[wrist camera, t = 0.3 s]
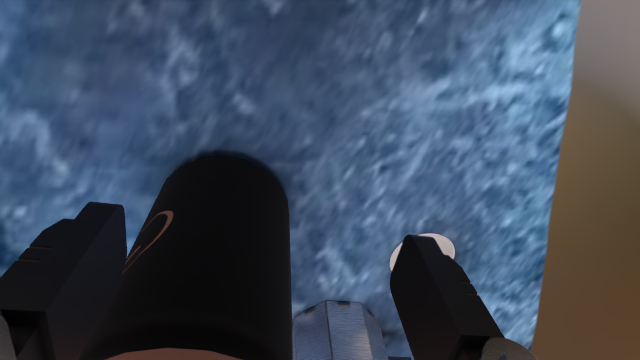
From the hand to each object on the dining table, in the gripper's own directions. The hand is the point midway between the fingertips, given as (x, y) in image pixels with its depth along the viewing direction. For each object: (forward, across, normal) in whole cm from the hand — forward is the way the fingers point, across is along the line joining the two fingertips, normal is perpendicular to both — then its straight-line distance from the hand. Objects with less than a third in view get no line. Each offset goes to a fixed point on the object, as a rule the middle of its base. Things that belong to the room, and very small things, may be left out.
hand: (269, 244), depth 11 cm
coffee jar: (+19, +3, +11) cm, 22 cm away
